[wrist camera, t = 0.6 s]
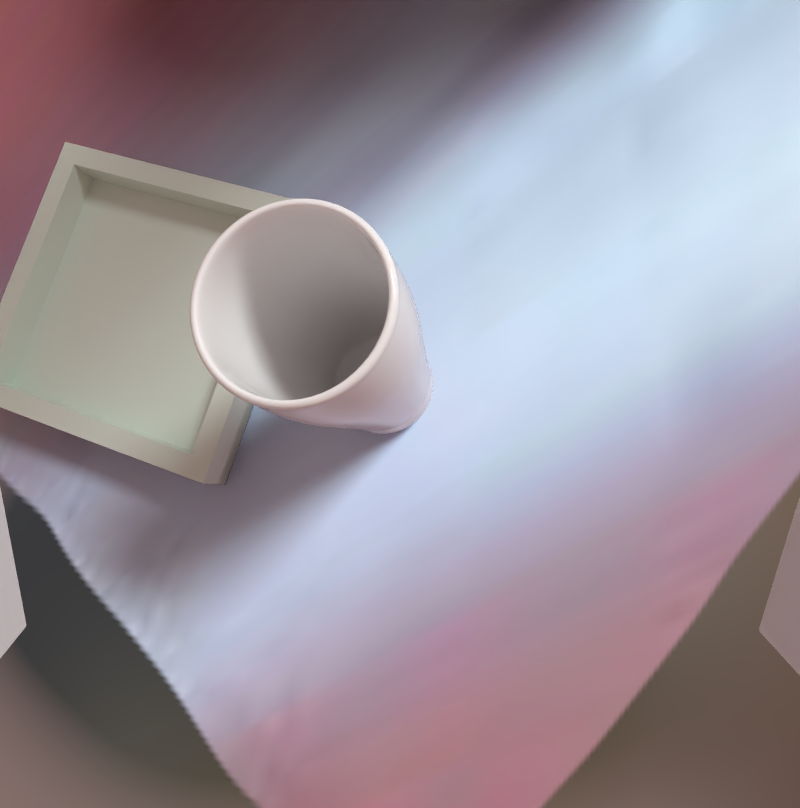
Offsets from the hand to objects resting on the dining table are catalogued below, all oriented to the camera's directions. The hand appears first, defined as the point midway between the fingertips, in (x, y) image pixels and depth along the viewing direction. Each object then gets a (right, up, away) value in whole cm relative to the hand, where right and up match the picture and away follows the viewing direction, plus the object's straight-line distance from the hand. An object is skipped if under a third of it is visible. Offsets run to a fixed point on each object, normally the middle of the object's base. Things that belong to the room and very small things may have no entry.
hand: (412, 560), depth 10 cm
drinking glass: (-1, +4, +22) cm, 23 cm away
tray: (-15, +8, +25) cm, 31 cm away
